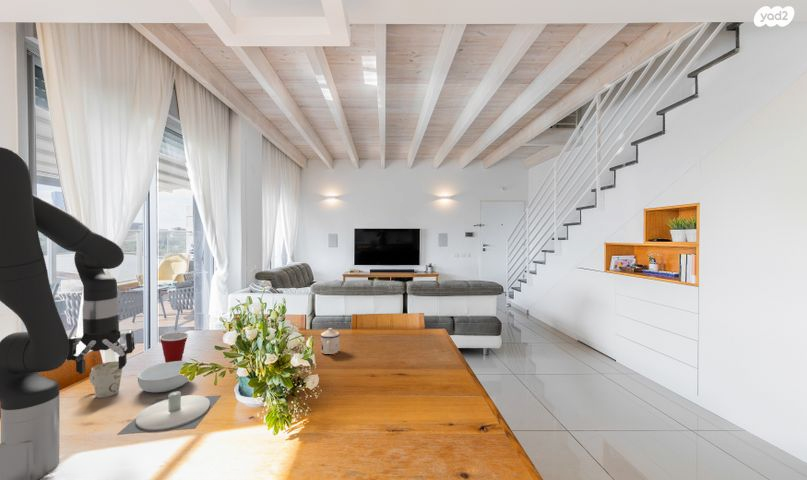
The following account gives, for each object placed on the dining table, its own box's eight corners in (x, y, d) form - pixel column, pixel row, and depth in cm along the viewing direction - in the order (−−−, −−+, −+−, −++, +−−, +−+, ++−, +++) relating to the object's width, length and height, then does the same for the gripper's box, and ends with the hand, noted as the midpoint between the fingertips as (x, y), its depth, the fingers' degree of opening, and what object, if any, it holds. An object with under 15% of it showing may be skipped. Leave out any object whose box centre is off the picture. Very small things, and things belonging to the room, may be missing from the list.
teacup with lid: (322, 349, 166) (322, 325, 166) (340, 349, 167) (340, 325, 166) (317, 358, 154) (317, 332, 154) (337, 357, 155) (337, 332, 155)
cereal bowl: (147, 382, 127) (147, 363, 127) (197, 376, 133) (198, 358, 133) (129, 403, 111) (129, 382, 111) (187, 395, 117) (187, 375, 117)
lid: (193, 427, 97) (194, 406, 97) (120, 433, 94) (120, 411, 94) (218, 396, 116) (218, 379, 115) (158, 400, 112) (158, 382, 112)
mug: (104, 400, 113) (104, 371, 113) (75, 396, 115) (75, 368, 115) (129, 389, 121) (129, 362, 121) (101, 386, 123) (101, 359, 123)
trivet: (195, 430, 96) (195, 428, 96) (116, 436, 93) (116, 434, 93) (220, 397, 116) (220, 395, 116) (157, 401, 113) (157, 399, 113)
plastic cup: (174, 367, 141) (174, 339, 141) (152, 365, 143) (152, 338, 143) (194, 358, 152) (194, 332, 152) (173, 356, 154) (173, 330, 153)
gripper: (60, 320, 87) (62, 381, 88) (129, 315, 94) (130, 371, 95) (73, 313, 94) (74, 369, 95) (136, 308, 100) (137, 361, 101)
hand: (102, 370), depth 95 cm, fingers open, 8 cm apart
